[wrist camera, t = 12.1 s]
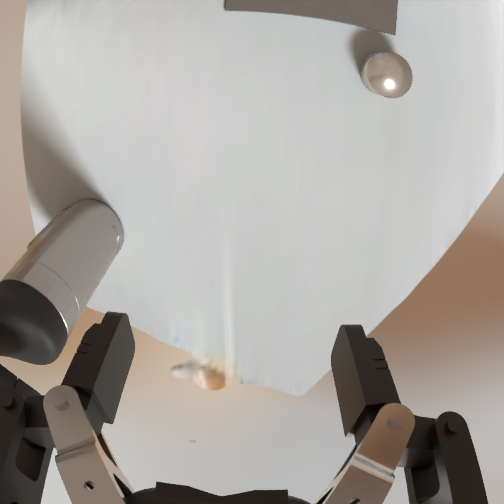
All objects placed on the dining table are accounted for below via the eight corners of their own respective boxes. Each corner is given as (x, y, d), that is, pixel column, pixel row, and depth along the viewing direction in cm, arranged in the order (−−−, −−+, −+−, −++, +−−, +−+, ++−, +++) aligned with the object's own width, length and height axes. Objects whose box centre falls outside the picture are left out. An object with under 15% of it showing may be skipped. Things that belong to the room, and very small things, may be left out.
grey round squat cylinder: (357, 90, 30) (365, 92, 28) (361, 47, 27) (370, 46, 25) (398, 99, 30) (408, 102, 28) (403, 58, 28) (414, 58, 25)
